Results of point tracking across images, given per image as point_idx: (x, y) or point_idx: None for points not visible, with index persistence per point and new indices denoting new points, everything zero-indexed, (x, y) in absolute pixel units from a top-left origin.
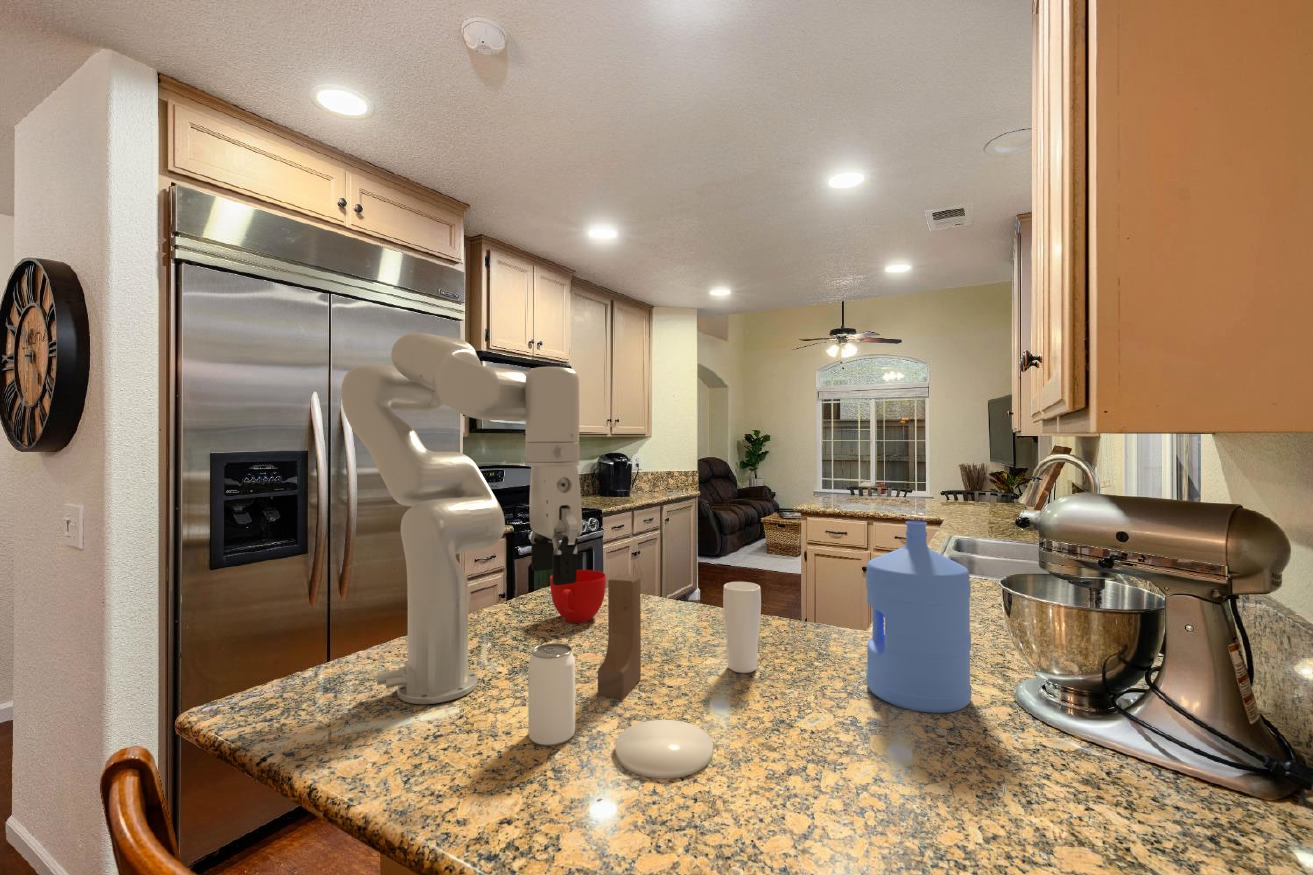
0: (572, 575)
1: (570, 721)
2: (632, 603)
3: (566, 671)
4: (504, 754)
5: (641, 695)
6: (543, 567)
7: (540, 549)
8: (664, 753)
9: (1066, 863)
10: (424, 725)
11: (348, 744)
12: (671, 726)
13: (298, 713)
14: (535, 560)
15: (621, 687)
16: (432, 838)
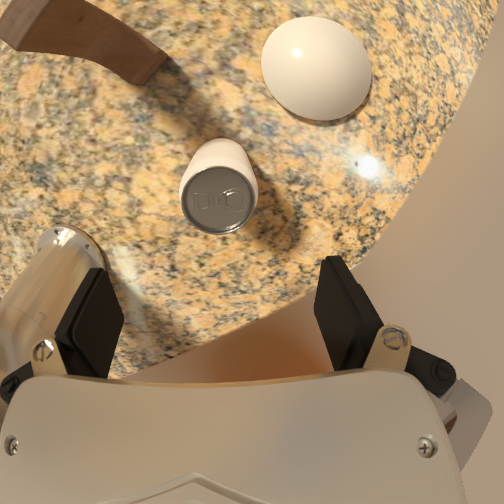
0: (359, 284)
1: (245, 153)
2: (85, 2)
3: (255, 178)
4: None
5: (167, 30)
6: (113, 299)
7: (99, 354)
8: (339, 79)
9: (495, 12)
10: (147, 276)
11: (165, 323)
12: (289, 38)
13: None
14: (116, 337)
15: (164, 55)
16: None
